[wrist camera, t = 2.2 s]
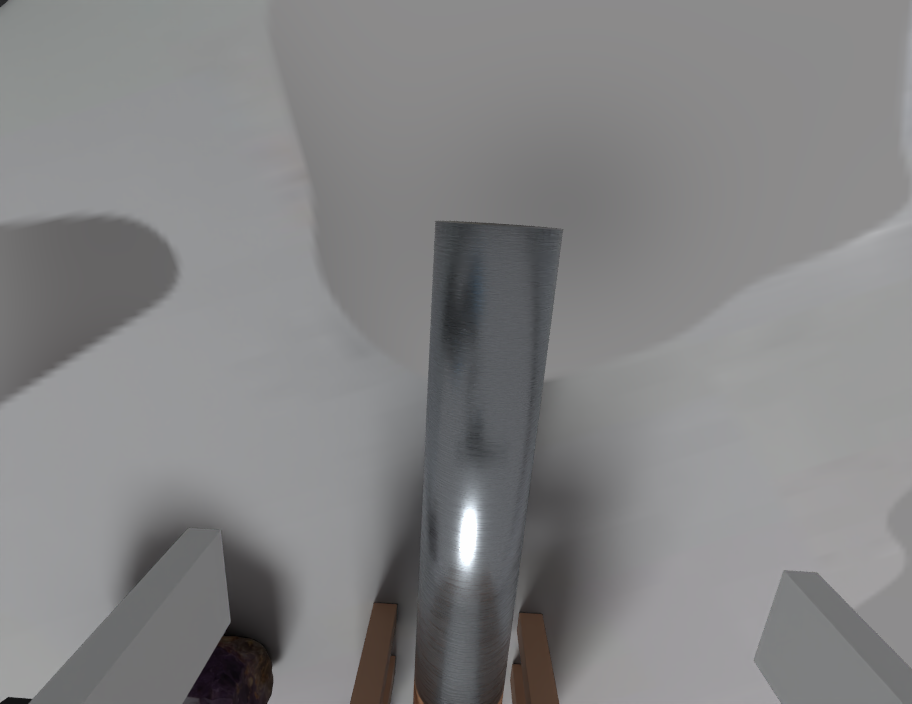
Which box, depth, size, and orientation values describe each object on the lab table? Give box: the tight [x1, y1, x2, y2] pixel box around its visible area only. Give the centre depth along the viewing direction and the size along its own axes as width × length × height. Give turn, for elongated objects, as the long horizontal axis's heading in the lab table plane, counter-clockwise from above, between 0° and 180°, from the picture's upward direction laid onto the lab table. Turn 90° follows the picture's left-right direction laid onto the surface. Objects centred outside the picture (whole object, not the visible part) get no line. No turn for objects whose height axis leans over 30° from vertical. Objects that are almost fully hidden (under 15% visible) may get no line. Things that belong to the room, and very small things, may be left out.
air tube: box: [413, 221, 563, 704], centre depth 19 cm, size 24×4×4 cm, turn 176°
